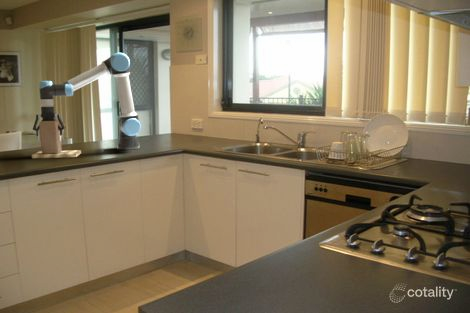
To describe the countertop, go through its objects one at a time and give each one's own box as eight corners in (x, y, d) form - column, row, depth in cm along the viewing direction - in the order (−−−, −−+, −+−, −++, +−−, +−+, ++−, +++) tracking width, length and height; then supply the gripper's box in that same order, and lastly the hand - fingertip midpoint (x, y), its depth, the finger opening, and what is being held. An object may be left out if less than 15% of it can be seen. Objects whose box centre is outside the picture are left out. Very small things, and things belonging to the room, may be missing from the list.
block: (58, 153, 281) (55, 121, 278) (41, 154, 280) (38, 121, 276) (62, 151, 291) (59, 119, 288) (45, 151, 290) (42, 120, 286)
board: (81, 153, 297) (80, 150, 296) (76, 157, 281) (76, 153, 281) (39, 154, 293) (38, 151, 292) (32, 158, 277) (31, 154, 277)
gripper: (68, 105, 287) (71, 139, 290) (28, 106, 283) (31, 140, 287) (66, 106, 279) (68, 141, 283) (25, 106, 276) (28, 142, 279)
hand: (50, 141), depth 285 cm, fingers open, 11 cm apart
